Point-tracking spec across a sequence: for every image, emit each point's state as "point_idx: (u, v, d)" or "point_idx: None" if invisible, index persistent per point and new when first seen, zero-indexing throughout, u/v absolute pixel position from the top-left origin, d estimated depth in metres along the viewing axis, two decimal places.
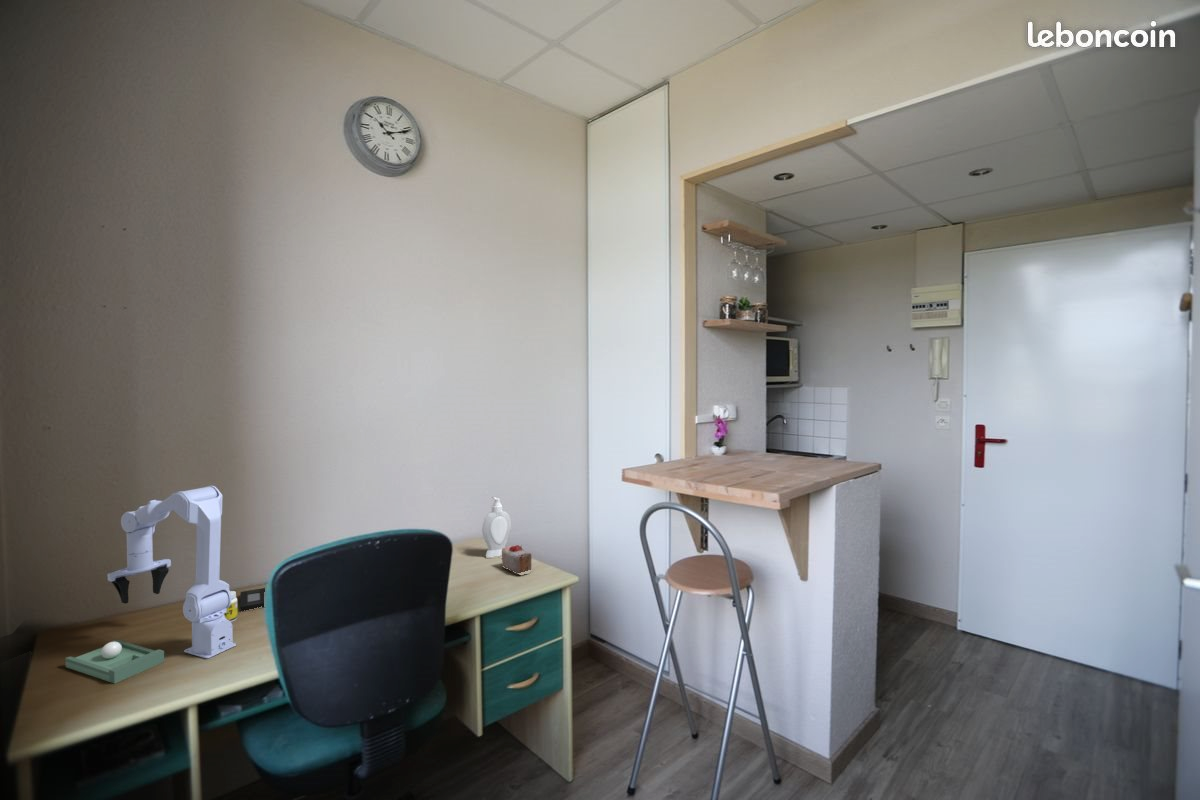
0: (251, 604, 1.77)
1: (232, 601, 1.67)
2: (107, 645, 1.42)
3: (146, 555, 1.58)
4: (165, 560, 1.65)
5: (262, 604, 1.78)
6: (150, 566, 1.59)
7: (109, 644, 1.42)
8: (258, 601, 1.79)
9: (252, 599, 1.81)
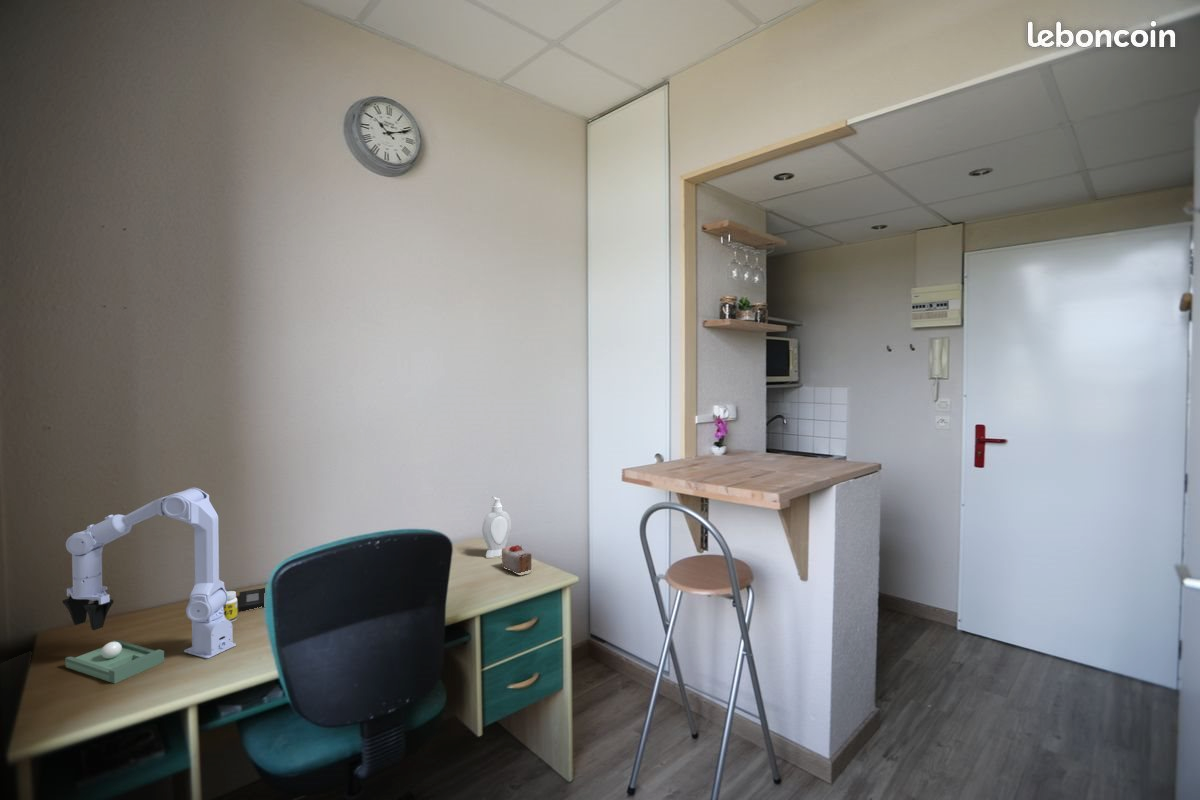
0: (250, 604, 1.77)
1: (232, 601, 1.67)
2: (107, 645, 1.42)
3: (75, 582, 1.43)
4: (102, 595, 1.43)
5: (261, 604, 1.78)
6: (78, 596, 1.43)
7: (109, 644, 1.42)
8: (257, 601, 1.79)
9: (251, 600, 1.80)
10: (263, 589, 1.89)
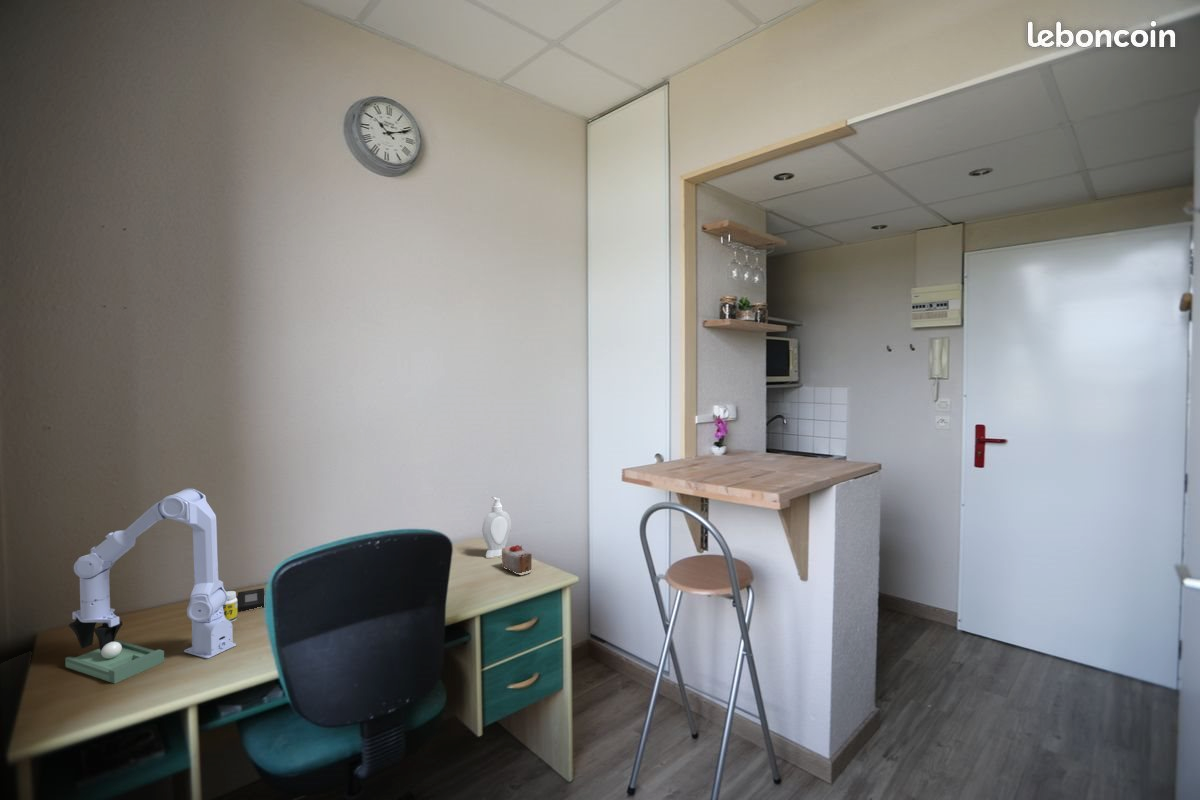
0: (248, 604, 1.76)
1: (232, 601, 1.67)
2: (107, 645, 1.42)
3: (83, 605, 1.42)
4: (111, 618, 1.43)
5: (259, 604, 1.77)
6: (87, 619, 1.42)
7: (109, 644, 1.42)
8: (255, 601, 1.79)
9: (250, 600, 1.80)
10: (261, 589, 1.89)
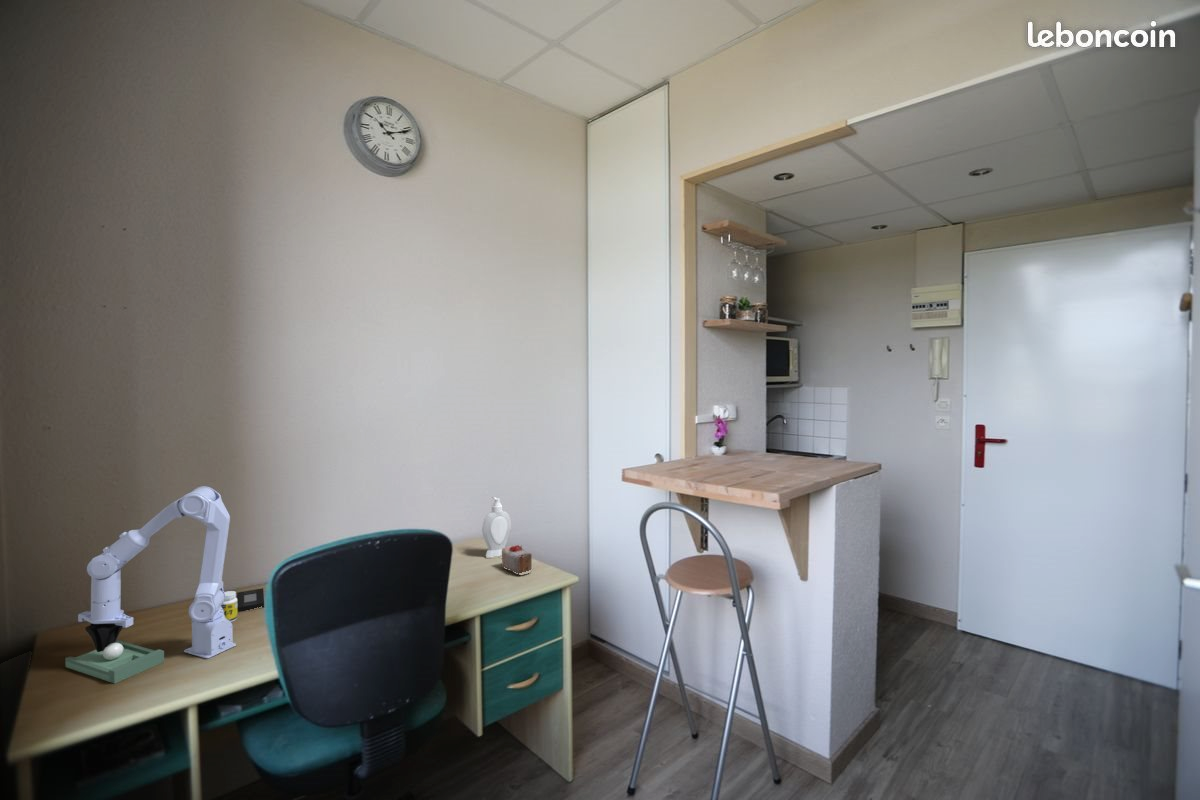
0: (247, 605, 1.76)
1: (232, 601, 1.67)
2: (110, 648, 1.41)
3: (95, 606, 1.40)
4: (125, 618, 1.42)
5: (258, 605, 1.77)
6: (99, 620, 1.40)
7: (112, 648, 1.41)
8: (254, 602, 1.79)
9: (249, 600, 1.80)
10: (261, 589, 1.88)
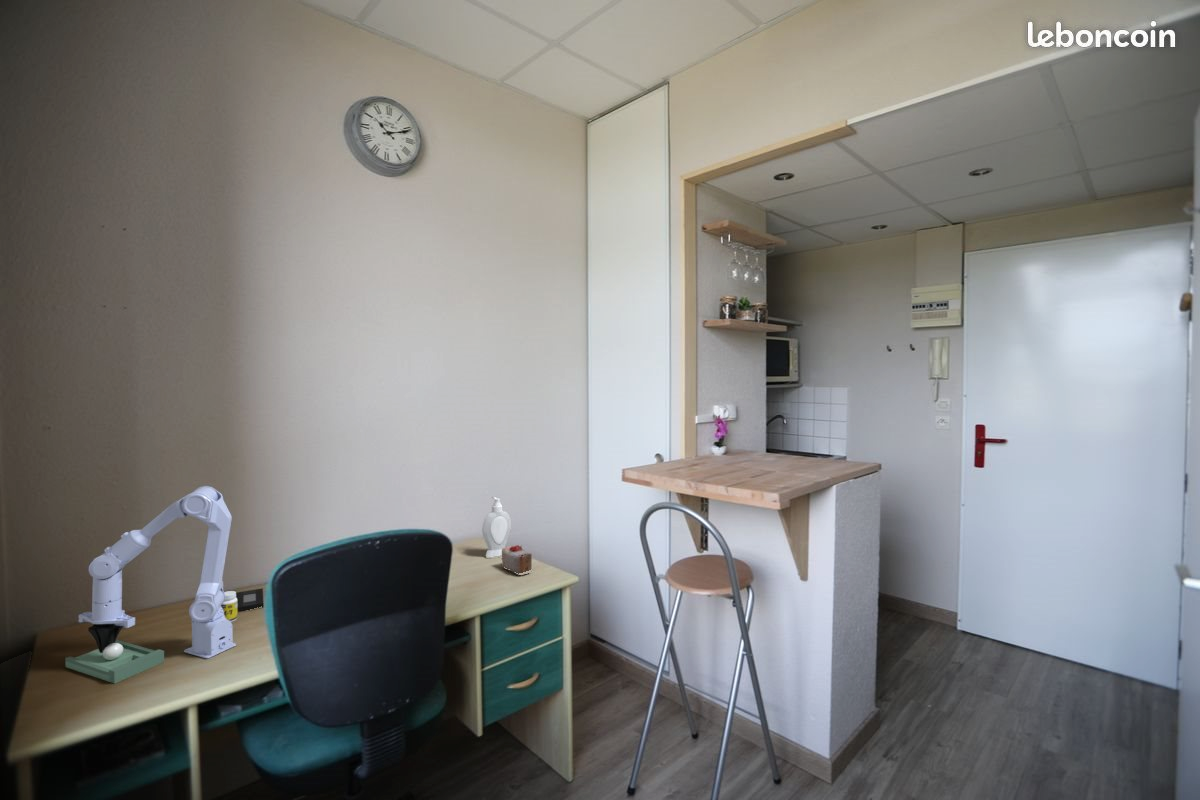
0: (247, 605, 1.76)
1: (232, 601, 1.67)
2: (110, 649, 1.41)
3: (97, 606, 1.39)
4: (127, 619, 1.41)
5: (258, 605, 1.77)
6: (101, 620, 1.40)
7: (112, 648, 1.41)
8: (254, 602, 1.78)
9: (248, 600, 1.80)
10: (260, 590, 1.88)
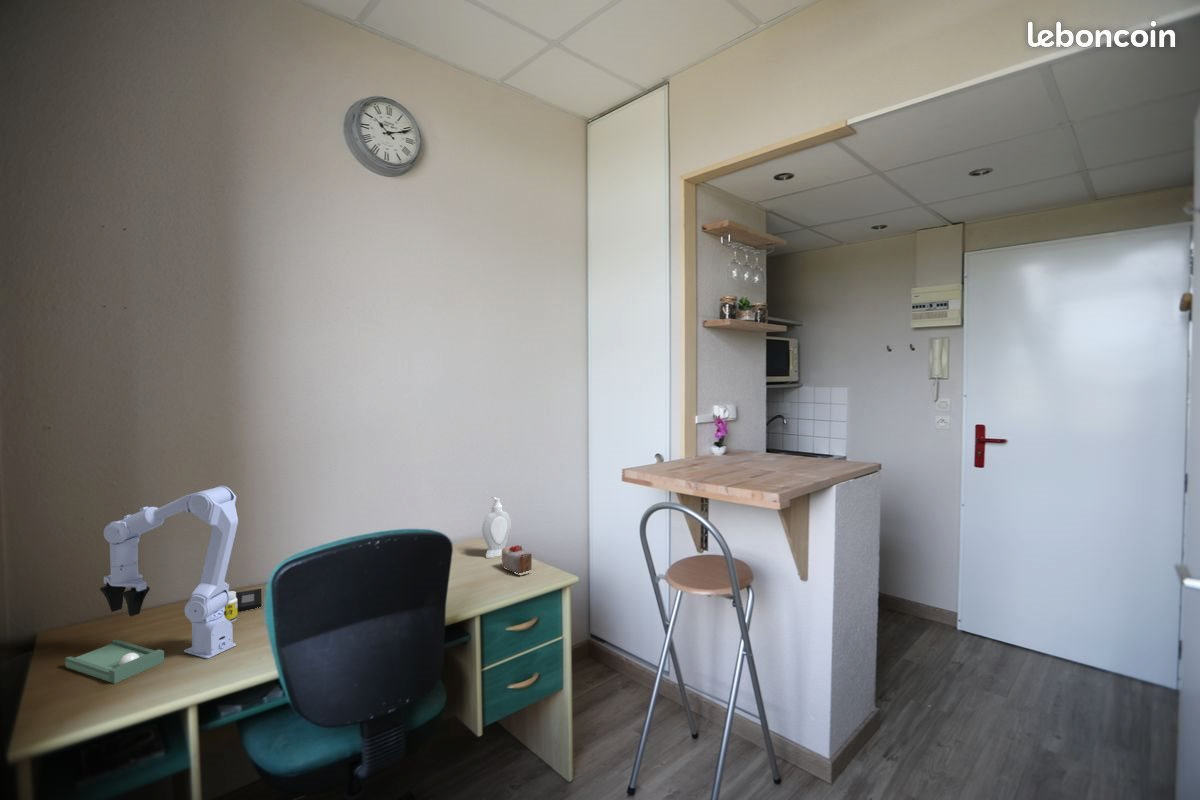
0: (245, 605, 1.76)
1: (232, 601, 1.67)
2: None
3: (113, 569, 1.47)
4: (139, 583, 1.48)
5: (256, 605, 1.77)
6: (116, 583, 1.47)
7: None
8: (252, 602, 1.78)
9: (246, 600, 1.80)
10: (259, 590, 1.88)
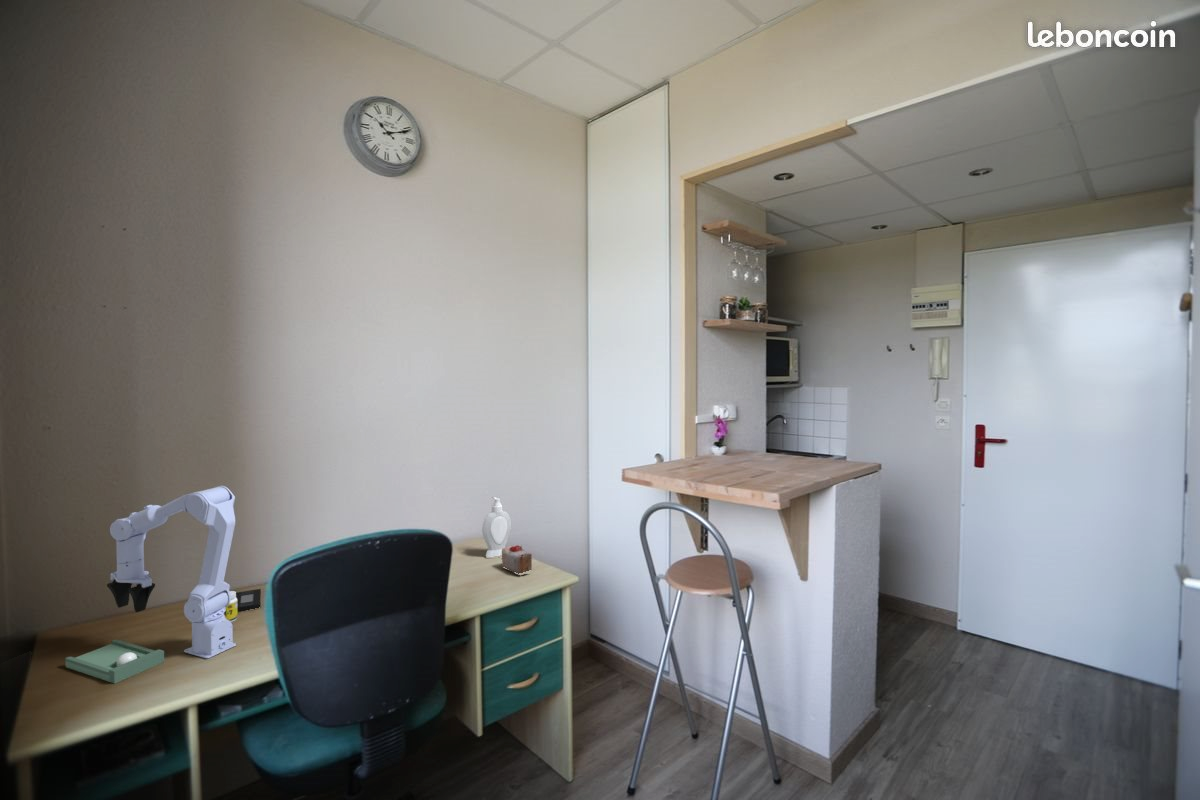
0: (243, 605, 1.76)
1: (232, 601, 1.67)
2: None
3: (119, 566, 1.50)
4: (144, 579, 1.50)
5: (254, 605, 1.76)
6: (123, 579, 1.50)
7: None
8: (251, 602, 1.78)
9: (245, 601, 1.79)
10: (258, 590, 1.88)
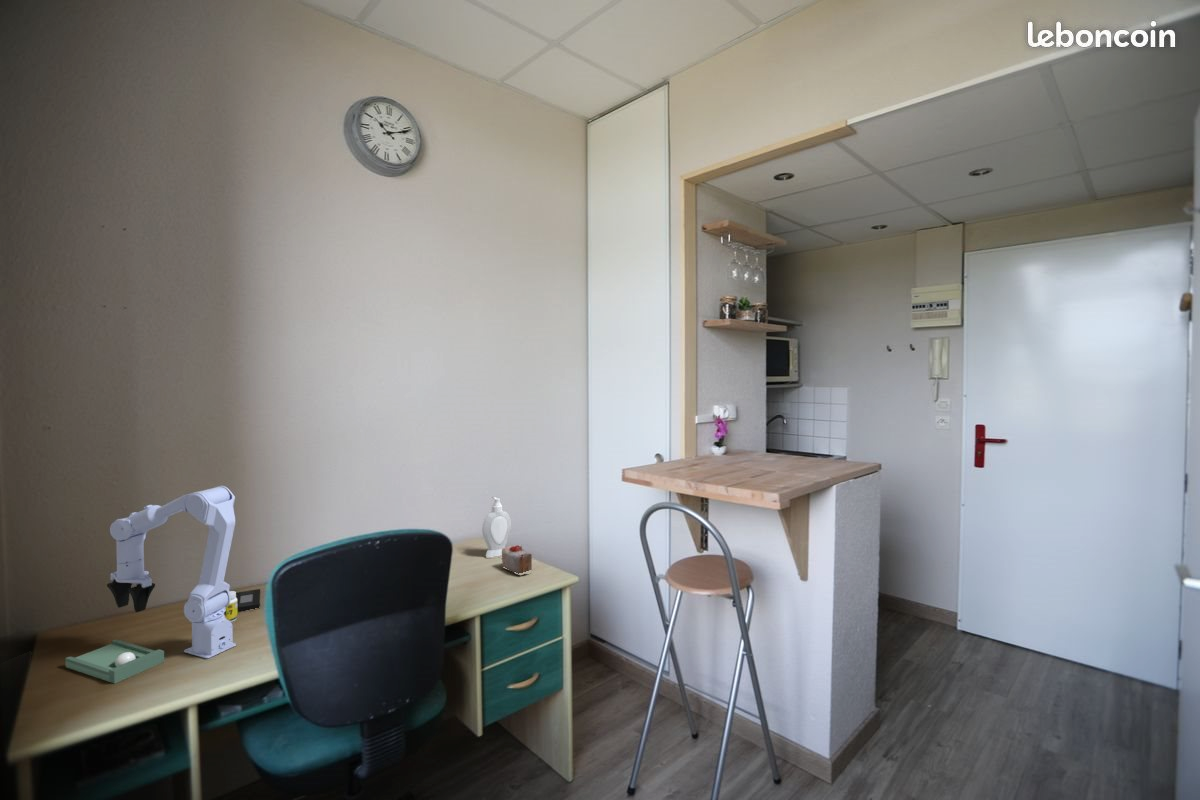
0: (243, 606, 1.76)
1: (232, 601, 1.67)
2: None
3: (119, 566, 1.50)
4: (144, 579, 1.50)
5: (254, 606, 1.76)
6: (123, 579, 1.50)
7: None
8: (250, 602, 1.78)
9: (245, 601, 1.79)
10: (258, 590, 1.88)
